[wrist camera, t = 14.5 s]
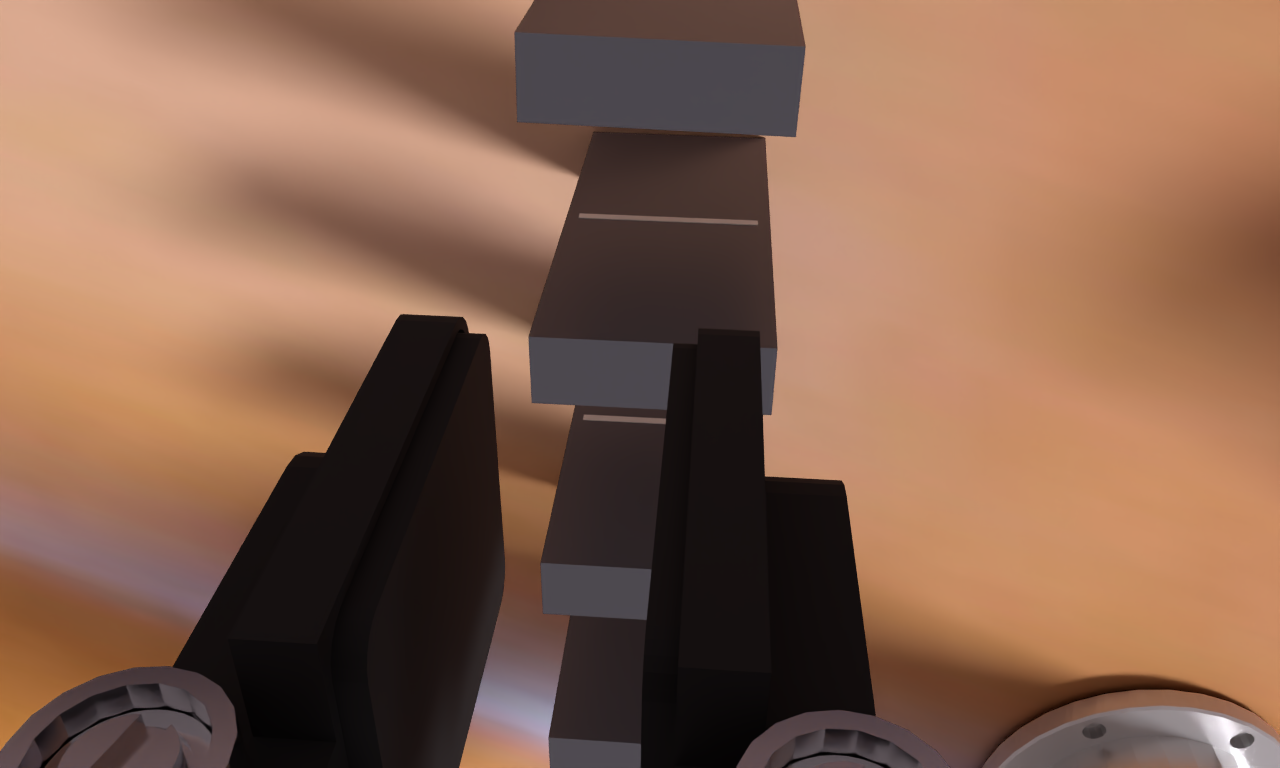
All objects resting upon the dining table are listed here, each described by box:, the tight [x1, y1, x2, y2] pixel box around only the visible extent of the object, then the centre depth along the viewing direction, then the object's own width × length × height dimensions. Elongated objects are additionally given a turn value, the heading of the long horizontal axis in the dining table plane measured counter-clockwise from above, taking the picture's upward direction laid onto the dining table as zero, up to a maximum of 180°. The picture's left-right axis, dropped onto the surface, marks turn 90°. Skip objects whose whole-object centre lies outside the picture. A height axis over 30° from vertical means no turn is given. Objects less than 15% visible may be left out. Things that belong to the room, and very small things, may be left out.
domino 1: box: [515, 0, 805, 137], centre depth 25 cm, size 2×5×12 cm, turn 88°
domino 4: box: [549, 615, 647, 768], centre depth 34 cm, size 2×5×12 cm, turn 89°
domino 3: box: [541, 405, 667, 620], centre depth 31 cm, size 2×5×12 cm, turn 89°
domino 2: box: [529, 132, 777, 415], centre depth 28 cm, size 2×5×12 cm, turn 89°
